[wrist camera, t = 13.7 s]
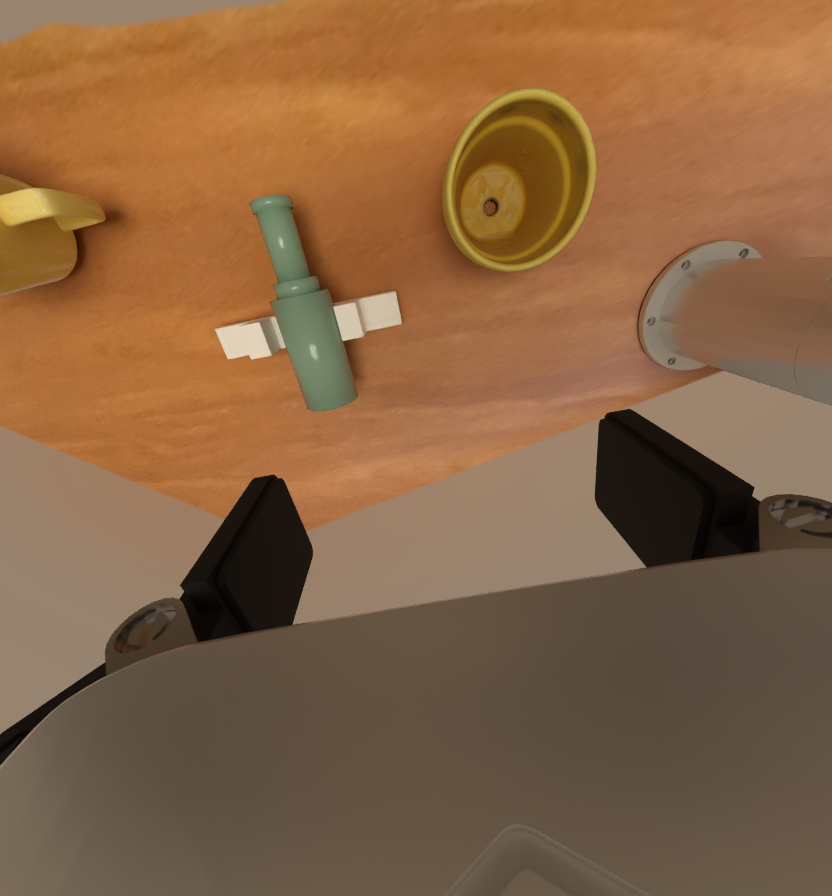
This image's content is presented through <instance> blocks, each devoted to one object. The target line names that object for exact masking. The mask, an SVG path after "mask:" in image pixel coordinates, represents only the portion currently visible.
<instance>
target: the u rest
mask: <svg viewBox="0 0 832 896" xmlns="http://www.w3.org/2000/svg"><path fill="white" fill-rule="evenodd" d="M333 305H334V307H333V308H334V312H335V316H336V319H337V323H338V327H339V330H340V334H341V337H342V341H345V340H350V339H355V338H360V337H364V335H365V333H366V331H370V330H375V329H380V328H385V327H390V326H395V325H400V324H402V319H401V314H400V309H399V304H398V299H397V294H396V290H394V291H389V292H384V293H379V294H375V295H370V296H365V297H360V298H355V299H351V300H346V301H341V302H336V303H333ZM215 330H216V333H217V335H218V337H219V340H220V342H221V344H222V347H223V349H224V351H225V354H226V356H227V358H228V359H232V358H237V357H242V356H247V355H249V356H250V358H251V359H256V358H261V357H266V356H271V355H273V354H274V353H276V352H277V351H278V350H280V349H282V348H286V346H285V343H284V341H283V338H282V335H281V332H280V329H279V326H278V324H277V321H276V318H275V315H274V316H269V317H264V318H259V319H254V320H250V321H245V322H240V323H235V324H230V325H226V326H222V327H220V328H217V329H215Z"/></svg>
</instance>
